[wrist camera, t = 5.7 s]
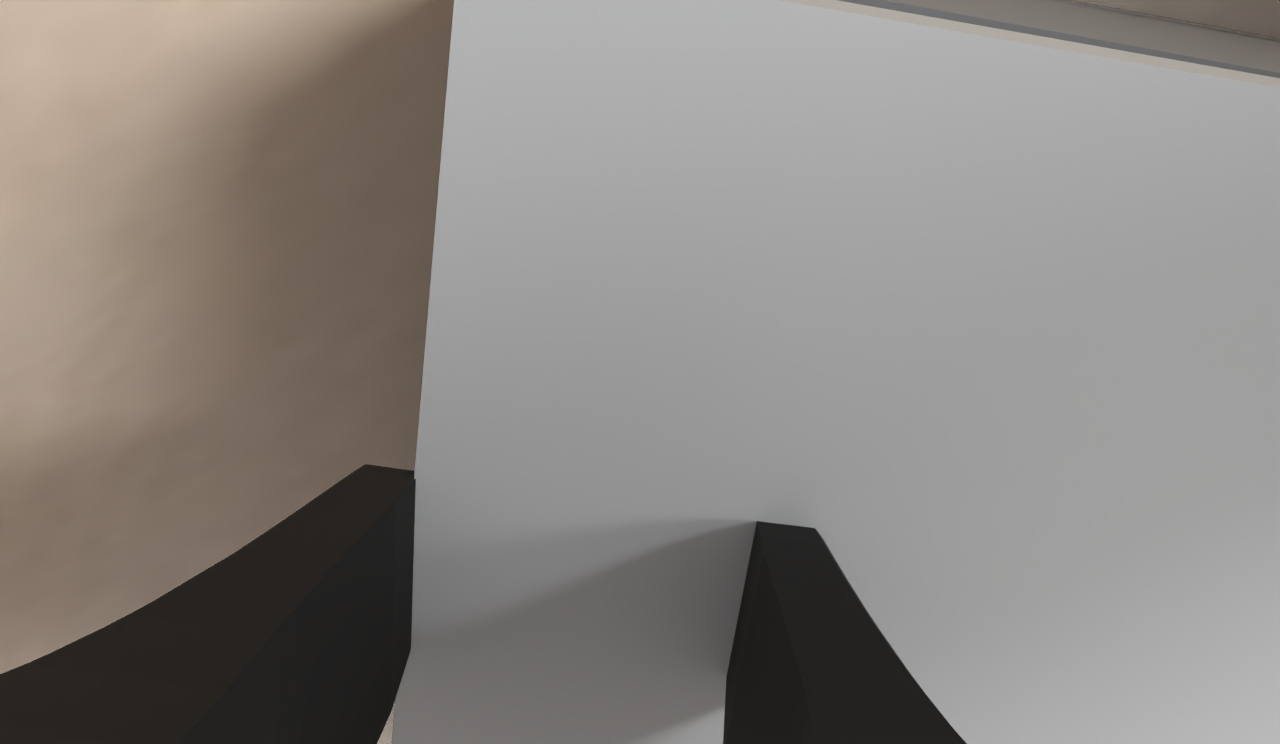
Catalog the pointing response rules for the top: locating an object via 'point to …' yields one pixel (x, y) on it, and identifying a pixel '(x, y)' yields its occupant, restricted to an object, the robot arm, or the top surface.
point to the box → (1107, 30)
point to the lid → (845, 370)
